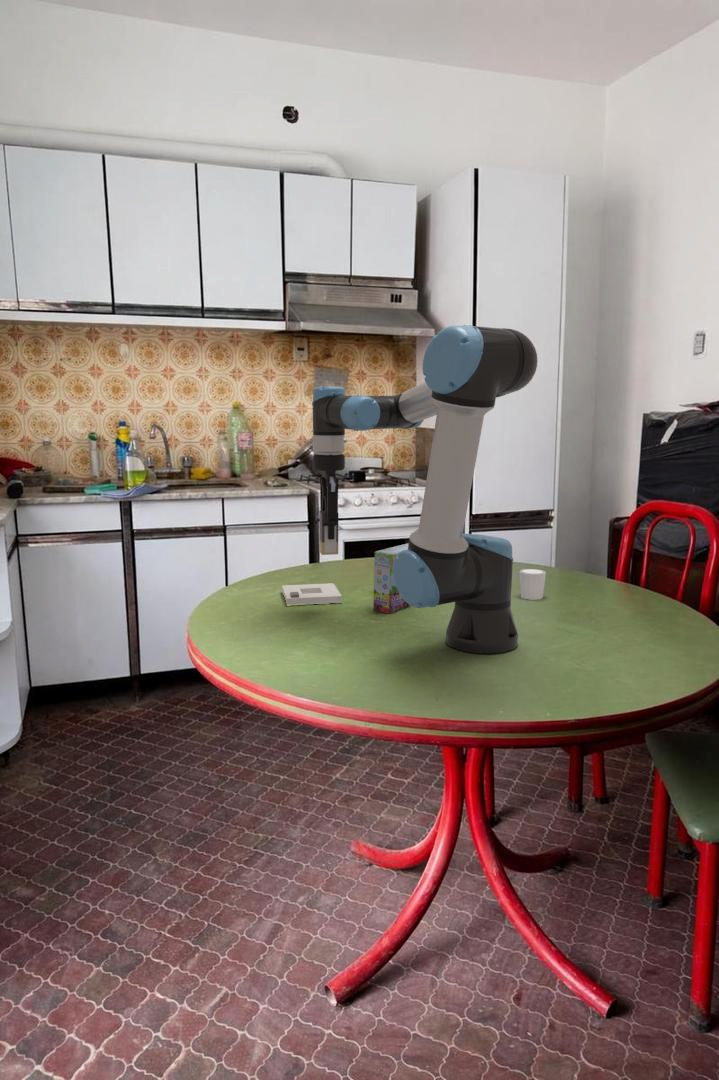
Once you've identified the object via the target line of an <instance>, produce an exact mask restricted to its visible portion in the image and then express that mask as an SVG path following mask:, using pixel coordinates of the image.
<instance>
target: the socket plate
mask: <svg viewBox="0 0 719 1080" xmlns="http://www.w3.org/2000/svg"><path fill="white" fill-rule="evenodd" d="M282 592H283V594H282V596H283V595H284V597H285V600H286V602H285V604H286V603H287V604H326V605H328V604H327V603H342V604H343V595H342V594H341V592H340V591H339V589H338V587H337V586H336V585H335V583H332V582H331V583H328V582H327V583H313V584H312V583H311V584H310V583H307V584H290V585H289V584H288V585H281V593H282ZM284 597H283V598H284ZM285 600H284V601H285Z"/></svg>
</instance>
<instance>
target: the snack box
mask: <svg viewBox="0 0 719 1080" xmlns="http://www.w3.org/2000/svg"><path fill="white" fill-rule="evenodd" d="M408 544H409V542H408V543H405V544H401V545H395V546H393V547H387V548H384V549H380V550H376V551H374V563H373V564H374V566H373V567H374V569H373V570H374V571H373V572H374V573H373V577H374V578H373V605H372V607H373V608H372V610H373V611H375V612H379V613H384V614H392V613H395V612H397V611H400V610H403V609H406V608H409V607H412V606H411V605H409V604H408V603H407V602H406V601H405V600H404V599H403V598H402V597H401V595H400V594H399V592H398V590H397V587H396V586H395V583H394V579H393V561H394V559H395V557H396V555H398V554H399V553H400V552H401V551H403V550H408Z"/></svg>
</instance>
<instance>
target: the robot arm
mask: <svg viewBox="0 0 719 1080" xmlns="http://www.w3.org/2000/svg"><path fill="white" fill-rule="evenodd" d="M537 368H538V353H537V350H536V348H535V346H534V344H533V341H532V340H531V339H530V338H529V337H528V336H527V335H525V334H524V333H523V332H521V331H519V330H516V329H512V328H506V327H505V328H504V327H503V328H500V327H499V328H498V327H489V326H487V327H485V326H479V325H478V326H476V325H475V326H474V325H467V324H464V325H451V326H447V327H445V328H443V329H441V330H440V331H438V333H437V334H435V335H433V337H432V339H431V340H430V341H429V342H428V345H427V347H426V349H425V352H424V355H423V359H422V374H423V376H425V377H424V382H423V383H421V384H418V385H416V386H413V387H412V388H411V387H410V388H409V389H407V390H405V391H403V392H400V393H397V394H396V395H395V394H394V395H363V394H360V395H359V394H354V395H346V390H345V388H344V387H343V386H316V387H315V388H313V391H312V393H313V395H312V401H311V402H312V403H311V405H312V451H313V452H314V454H313V455H312V468H313V470H314V471H319V472H321V476H320V477H319V489H320V490H319V491H320V492H319V496H320V497H319V498H320V499H319V502H320V505H319V506H320V509H319V511H325V521H326V522H325V523H323V524H322V525H323V526H325V553H333V552H336V524H338V525H339V487H340V483H339V478H338V477H337V474H336V472H337V471H340V472H341V471H343V470H345V467H346V465H345V464H346V460H345V459H346V455H345V454H343V452H345V451H346V449H345V446H346V443H348V439H347V438H345V434H346V430H353V431H355V432H359V431H362V432H363V431H369V430H385V429H388V430H389V429H390V430H391V429H393V430H395V429H396V430H397V429H400V430H401V429H404V430H408V429H413V428H417V427H420V426H421V425H422V423H424V422H425V420H427V419H429V418H431V417H435V416H436V418H435V426H434V431H433V438H432V444H431V449H430V456H429V462H428V468H427V476H426V481H425V487H424V488H425V489H424V494H423V501H422V507H421V511H420V512H421V513H420V519H419V526H418V528H417V529H416V530H414V531H413V532H411V533H410V535H409V540H408V543H409V544H408V550H403V551H401V552H400V553H399V554H398V555H396V557H395V559H394V561H393V579H394V583H395V586H396V587H397V590H398V592H399V594H400V595H401V597H402V598H403V599H404V600H405V601H406V602H407V603H408V604H409V605H411V606H410V607H414V608H417V609H422V608H423V609H424V608H434V607H437V606H440V605H446V604H451V603H454V608H453V610H452V613H451V617H450V620H449V622H448V625H447V628H446V633H445V642H446V644H447V645H448V646H449V647H451V648H453V649H454V650H458V651H462V652H467V653H472V654H487V655H489V654H500V653H506V652H510V651H513V650H514V649H516V648H517V647H518V645H519V643H518V642H519V633H518V629H517V627H516V624H515V620H514V615H513V612H512V609H511V607H512V606H511V605H512V603H511V602H512V586H513V582H512V581H513V565H514V564H513V562H514V558H513V546H512V543H511V542H510V541H509V540H508V539H507V538H506V539H505V538H502V537H498V536H492V535H484V534H475V533H464V529H465V524H466V523H465V522H466V518H467V513H468V512H467V511H468V506H469V502H470V495H471V489H472V485H473V480H474V479H473V478H474V474H475V468H476V463H477V458H478V451H479V446H480V440H481V435H482V429H483V424H484V419H485V416H486V414H488V412H490V411H491V410H493V409H495V405H496V399H497V398H501V397H503V396H506V395H509V394H512V393H515V392H518V391H520V390H522V389H523V388H525V387H526V386H527V385H529V383H530V382H531V381H532V380H533V378H534V376H535V374H536V371H537Z"/></svg>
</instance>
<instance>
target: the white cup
mask: <svg viewBox="0 0 719 1080" xmlns="http://www.w3.org/2000/svg"><path fill="white" fill-rule="evenodd" d="M546 575H547V572H546V571H545V570H544V569H536V568H523V569H520V570H519V585H520V586H519V587H520V598H521V599H523V600H530V601H538V600H539V601H540V600H542V599H543V598H544V590H545V583H546Z"/></svg>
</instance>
